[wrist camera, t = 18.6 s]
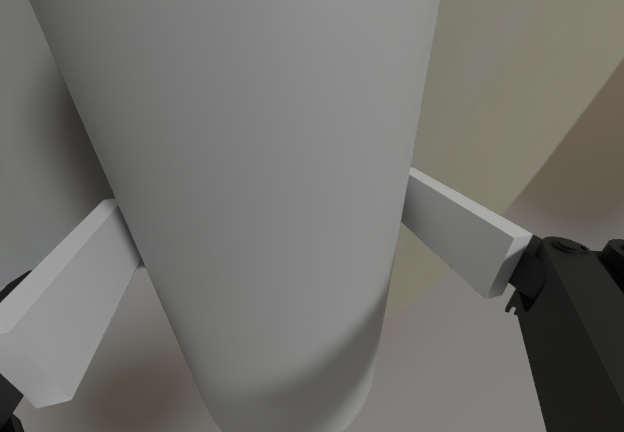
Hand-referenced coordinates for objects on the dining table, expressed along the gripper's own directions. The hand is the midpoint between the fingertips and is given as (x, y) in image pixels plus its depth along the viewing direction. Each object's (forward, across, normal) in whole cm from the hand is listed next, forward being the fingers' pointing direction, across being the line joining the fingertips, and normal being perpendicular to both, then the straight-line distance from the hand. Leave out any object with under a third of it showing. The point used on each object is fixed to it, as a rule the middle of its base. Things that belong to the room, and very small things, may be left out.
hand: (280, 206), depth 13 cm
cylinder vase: (+1, 0, -13) cm, 13 cm away
